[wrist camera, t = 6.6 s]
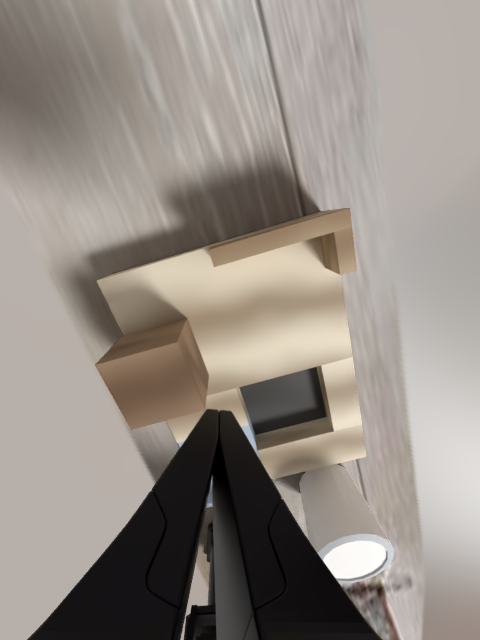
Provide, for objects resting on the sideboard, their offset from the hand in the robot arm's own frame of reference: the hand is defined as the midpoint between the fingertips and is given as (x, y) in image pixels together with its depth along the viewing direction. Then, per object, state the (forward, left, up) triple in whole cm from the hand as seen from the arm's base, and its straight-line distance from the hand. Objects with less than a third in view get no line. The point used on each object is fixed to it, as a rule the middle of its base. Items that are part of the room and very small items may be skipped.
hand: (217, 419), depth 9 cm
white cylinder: (-19, -12, -13) cm, 26 cm away
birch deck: (-6, -3, -12) cm, 14 cm away
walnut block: (-4, +4, -10) cm, 12 cm away
